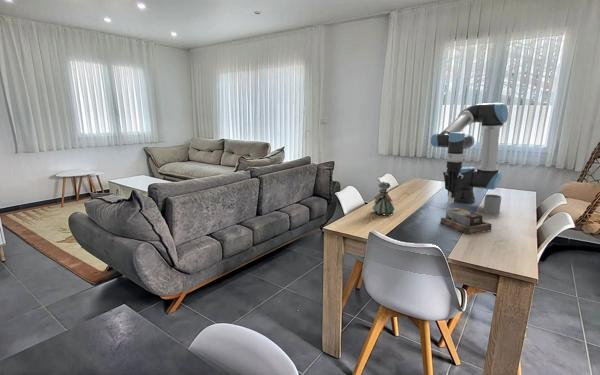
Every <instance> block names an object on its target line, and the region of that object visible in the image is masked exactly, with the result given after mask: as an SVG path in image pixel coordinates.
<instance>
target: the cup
mask: <svg viewBox="0 0 600 375" xmlns="http://www.w3.org/2000/svg"><path fill="white" fill-rule="evenodd" d="M501 201H502V196H501V195H498V194H485V195H484V204H483V213H485V212H486V213H485V214H489V215H499V214H500V210H501V203H502V202H501Z"/></svg>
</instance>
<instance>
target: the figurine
mask: <svg viewBox="0 0 600 375" xmlns="http://www.w3.org/2000/svg"><path fill="white" fill-rule="evenodd" d="M378 188H379V193H378V194H377V195H375V196H374V205H373V206H372V209H373V211H374V212H375V213H376V212H377V213H376V214H377V215H379V214H385V215H391V214H393V215H394V211H395V207H394V205H393V203H392V201H393V199H392V198H391V197H390V195H389V194H388V193H389V191H388V189H390V188H391V184H390V183H389V182H385V181H381V182H379V184H378Z"/></svg>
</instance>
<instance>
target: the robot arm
mask: <svg viewBox="0 0 600 375" xmlns="http://www.w3.org/2000/svg"><path fill="white" fill-rule="evenodd" d="M508 110H509V109H508V106H507V105H506V104H505V103H504V102H503V103H501V102H492V103H489V102H487V103H475V104H473V105H470V106H468V107H466V108H465V109H463V110H462V111H461V112H459V113H458V115H457V117H456V118H455V119H454V120H453V121H452V122H451V123H450V124H449V125H448V126H447V127H445V129H444V130H442V131H441V132H440V133H434V134H432V135H431V137H430V144H431V147H436V148H447V157H446V158H447V161H446V168H447V169H446V171H442V174H443V179H444V188H445V190H447V203H448V204H454V203H462V204H471V203H472V204H473V203H475V202H476V197H475V191H474V188H477V189H483V190H484V189H485V190H491V191H493V190H496V189H497V188H498V187H499V184H500V183H501V180H502V172H500V171H499V168H498V167H497V160H498V159H497V158H498V150H499V140H500V139H499V138H500V133H501V132H500V131H501V130H500V129H501V127H503V126H504V123H506V122H507V121H508V117H509V111H508ZM473 123H474V124H475V123H481V127H482V128H483V134H482V144H481V145H482V146H481V157H480V165H479V166H478V167H477V169H476V167H475V166H463V156H464V149H466V150H467V149H469V148H471V147H472V146H474V144H475V138H474V136H473V135H471V134H465V132H463V130H465V128H466V127H467V126H469V125H472V124H473Z"/></svg>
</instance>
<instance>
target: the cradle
mask: <svg viewBox="0 0 600 375" xmlns="http://www.w3.org/2000/svg"><path fill="white" fill-rule="evenodd" d="M439 224H441V225H442V226H443V225H444V226H445V227H448V228H451V229H453V230H455V231H457V232H460V233H461V234H464V235H467V234H468V235H472V234H471V233H473V234H478V233H477V232H479V233H483V231H485V232H489V231H488V230H491V231H492V223H490V222H487V221H484V220H482V224H481V225H475V226H469V227H467V226H464V225H462V224H459V223H457V222H454V221H452V220H449V219H447V218H445V216H441V217H440V223H439Z"/></svg>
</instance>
